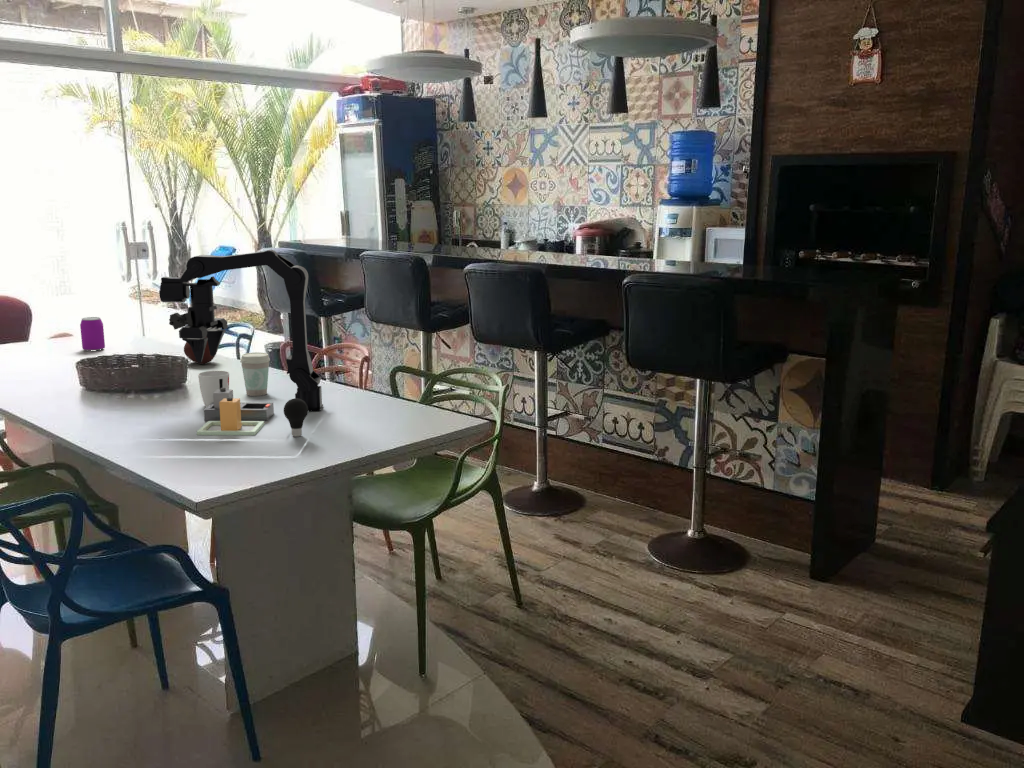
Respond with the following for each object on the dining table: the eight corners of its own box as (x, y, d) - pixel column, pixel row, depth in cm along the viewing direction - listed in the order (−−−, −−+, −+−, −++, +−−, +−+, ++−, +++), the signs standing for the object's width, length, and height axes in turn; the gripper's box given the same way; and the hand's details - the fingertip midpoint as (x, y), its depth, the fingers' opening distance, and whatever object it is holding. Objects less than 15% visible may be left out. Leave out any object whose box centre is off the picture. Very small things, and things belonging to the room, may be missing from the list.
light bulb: (296, 442, 207) (295, 402, 205) (279, 438, 210) (277, 399, 208) (314, 437, 212) (312, 398, 210) (297, 433, 215) (295, 394, 213)
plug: (241, 429, 216) (239, 396, 214) (237, 433, 212) (235, 399, 210) (225, 429, 216) (223, 396, 214) (221, 433, 212) (219, 399, 210)
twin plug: (234, 415, 227) (232, 386, 226) (230, 419, 223) (228, 390, 222) (218, 415, 227) (217, 386, 225) (214, 418, 223) (212, 389, 222)
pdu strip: (273, 417, 230) (273, 401, 229) (267, 424, 222) (266, 408, 221) (213, 416, 229) (212, 401, 228) (204, 424, 221) (203, 408, 220)
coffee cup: (235, 395, 253) (233, 355, 251) (254, 389, 261) (252, 351, 259) (259, 398, 250) (257, 358, 248) (277, 392, 258) (275, 353, 256)
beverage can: (77, 351, 317) (74, 319, 314) (91, 347, 324) (88, 316, 322) (96, 352, 316) (93, 320, 313) (109, 348, 323) (106, 317, 320)
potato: (209, 358, 307) (207, 330, 305) (225, 364, 298) (223, 335, 296) (178, 362, 300) (176, 333, 298) (193, 368, 291) (192, 338, 288)
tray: (264, 427, 219) (264, 421, 219) (255, 438, 210) (254, 431, 209) (209, 427, 219) (208, 420, 218) (197, 438, 209) (196, 431, 208)
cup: (221, 413, 233) (219, 377, 231) (194, 411, 235) (192, 375, 233) (236, 406, 241) (234, 371, 239) (210, 404, 243) (208, 369, 240)
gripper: (187, 297, 239) (191, 352, 243) (157, 306, 221) (161, 365, 224) (226, 298, 239) (230, 353, 242) (199, 307, 220) (203, 366, 224)
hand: (206, 359), depth 233 cm, fingers open, 9 cm apart
